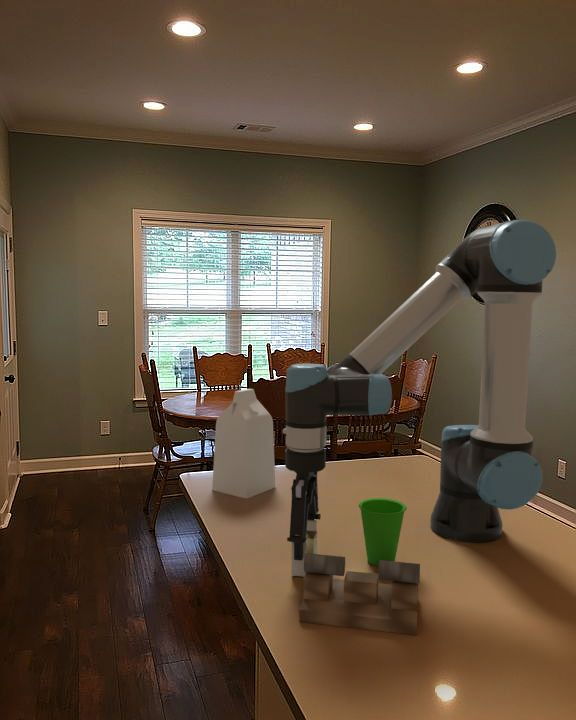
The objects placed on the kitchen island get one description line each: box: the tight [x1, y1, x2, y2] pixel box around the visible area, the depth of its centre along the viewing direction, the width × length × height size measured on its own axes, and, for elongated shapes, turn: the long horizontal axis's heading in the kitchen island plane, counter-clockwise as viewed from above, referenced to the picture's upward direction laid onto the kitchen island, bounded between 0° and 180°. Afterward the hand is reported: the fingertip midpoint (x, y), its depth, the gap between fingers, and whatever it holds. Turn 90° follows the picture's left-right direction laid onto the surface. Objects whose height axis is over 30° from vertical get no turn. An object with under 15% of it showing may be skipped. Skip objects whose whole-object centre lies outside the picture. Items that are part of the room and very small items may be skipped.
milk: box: [211, 388, 276, 499], centre depth 167 cm, size 12×12×26 cm
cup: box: [358, 497, 407, 567], centre depth 123 cm, size 9×9×11 cm
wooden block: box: [306, 530, 318, 554], centre depth 121 cm, size 4×4×6 cm
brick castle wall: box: [298, 553, 421, 636], centre depth 104 cm, size 18×12×8 cm, turn 78°
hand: (304, 563), depth 121 cm, fingers open, 10 cm apart
